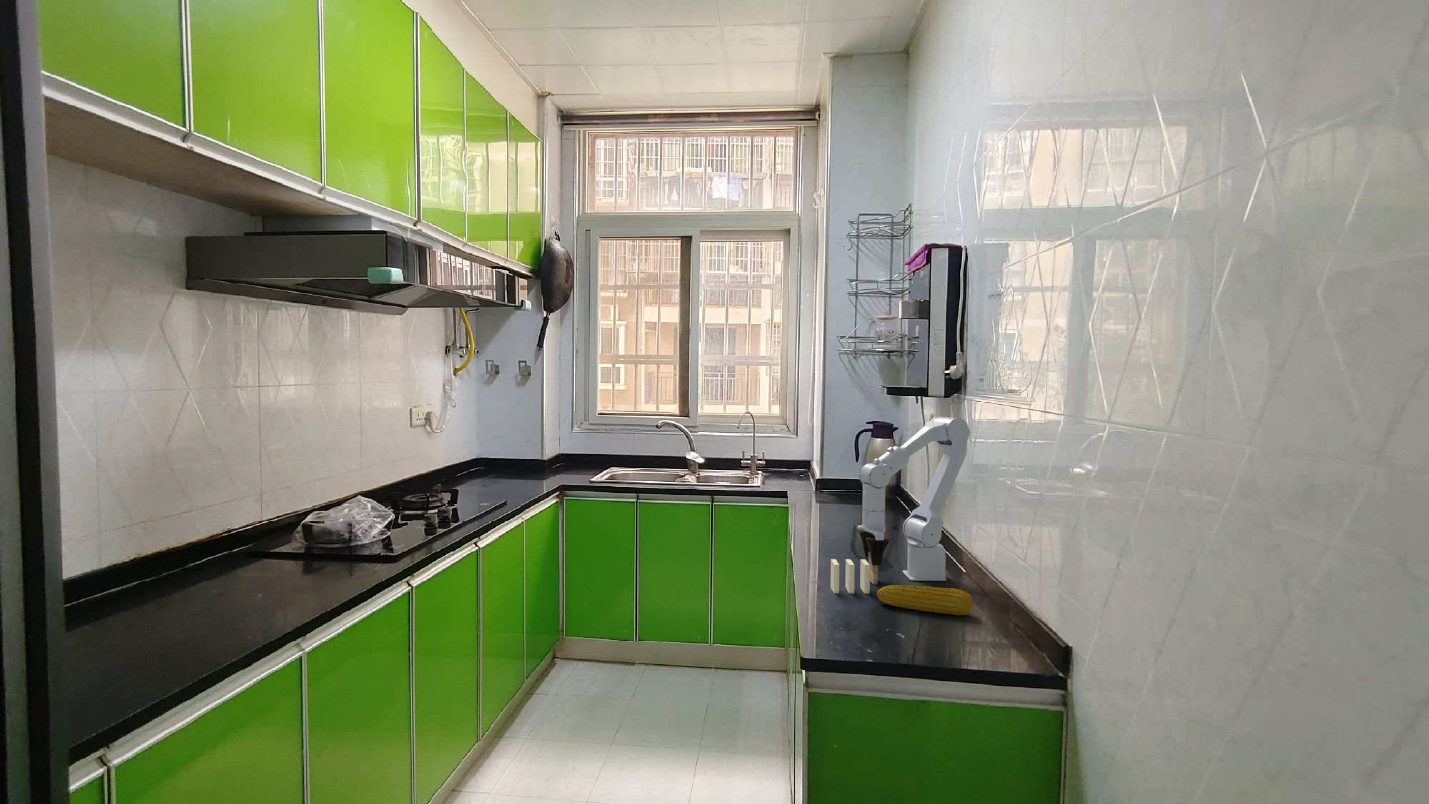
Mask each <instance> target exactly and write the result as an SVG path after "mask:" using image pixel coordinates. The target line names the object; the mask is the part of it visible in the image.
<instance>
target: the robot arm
mask: <svg viewBox="0 0 1429 804" xmlns="http://www.w3.org/2000/svg"><path fill="white" fill-rule="evenodd" d="M970 436H971V430H970V428H969V425H968V423H967V422H966V420H965V419H963V418H960V417H946V416H945V417H944V416H941V415H936V416H934V417H933V418H932V419H931V420H929V421H927V422H925V424H924V426H923V427H922V428H921V429H920V430H918V432H916V433H915V434H914V435H913V436H911V438H909V439H908V440H907V441H906V442H904V443H903V444H902V445H901V446H897V445H895V446H890V447H888V448H886V452H885V453H884V454H882V455H881V456H879V457H878V458H874V459H873V462H872V463H866V464H865V465H863V466H862V467H861V470H860V472H859V473H858V478H859V480H860V482H861V484H862V513H861V514H862V515H861V517H862V521H861V522H862V523H861V524H860V525H857V529H858V530H857V531H858V534H859V535H860V538H861V543H862V547H863V552H864V556H865V558H869V552H870V556H871V563H872V565H878V566H881V564H882V561H883V558H884V557H883V556H884V553H885V550H886V548H887V546H888V544H889V543H890V539H888V538H885V531H886V525H885V522H886V521H885V517H886V511H885V510H886V507H885V506H886V486H888V485H889V484H890V481H891V478H892V476H894V475H895V474H896V473H898V472H899V471H900V470H902V469H903V468H905V466H906V465H908V464H909V460H910V458H911V456H913V455H914V454H916V453H917V452H918V451H920V450H922V449H924V447H926V446H928V445H929V444H931V443H933V442H936V444H938V446H939V447H940V449H941V451H942V456H941V458H940V461H939V462H938V464H937V465H938V466H937V467H936V470H935V472H934V474H933V476H932V479H931V481H930V483H929V486H928V487H927V490H926V492H925V495H924V497H923V498H922V499H923V500H922V501H921V504H920V505H919V506H918V507H916V508H915V509H912V511H911V514H910V515H909V516H908V517H907V518H906V519H905V520H904V522H903V524H902V533H903V534H904V535H903V536H905V537H906V542H907V561H906V562H907V565H906V566H907V569H906V570H905V569H904V570H902V573H903V574H904V575H905V576H906V578H907V579H909V580H910V581H913V582H914V581H915V582H916V581H922V582H923V581H935V582H937V581H938V582H940V581H943V582H945V581H947V578H946V561H947V560H946V558H947V557H946V556H947V555H946V550H945V548H944V546H943V544H940V543H939V542H940V541H941V539H942V529H943V526H944V524H945V523H944V520H943V518H942V511H943V510H944V509H943V508H944V507H945V504H946V502H947V500H948V497H949V495H950V493H951V491H952V489H953V487H954V484H955V483H956V479H957V477H958V475H959V473H960V470H961V467H962V465H963V464H964V461H965V459H966V456H967V451H968V450H967V449H968V440H969V438H970Z"/></svg>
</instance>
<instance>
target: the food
mask: <svg viewBox="0 0 1429 804" xmlns="http://www.w3.org/2000/svg"><path fill="white" fill-rule="evenodd" d="M876 592H877V593H876V595H877V598H878V600H879V601H880V602H883V603H885V604H886V605H889V606H893V607H897V608H902V609H906V610H912V609H913V611H918V612H923V611H924V613H936V614H943V615H949V614H950V615H952V616H967V615H970V614H971V609H972V608H973V604H972V602H973V600H972V599H973V597H972V596H971V594H970V593H968V592H967V591H965V590H962V589H959V588H953V587H952V588H951V587H949V588H948V587H946V588H945V587H936V586H935V587H934V586H925V585H924V586H923V585H911V584H910V585H905V584H896V585H895V584H890V585H886V586H882V587H880V588H879V589H877V591H876Z"/></svg>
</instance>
